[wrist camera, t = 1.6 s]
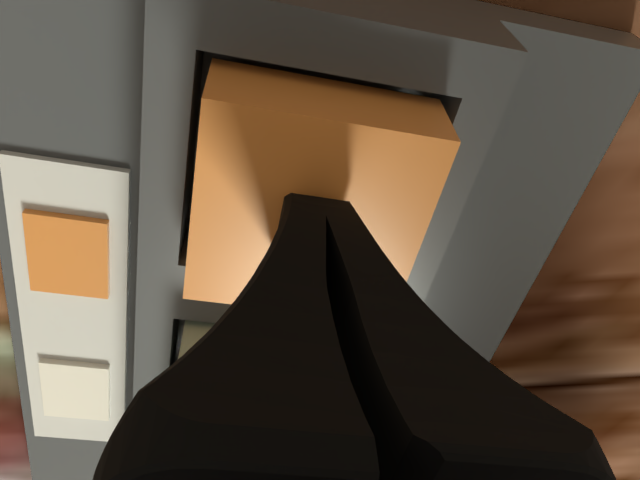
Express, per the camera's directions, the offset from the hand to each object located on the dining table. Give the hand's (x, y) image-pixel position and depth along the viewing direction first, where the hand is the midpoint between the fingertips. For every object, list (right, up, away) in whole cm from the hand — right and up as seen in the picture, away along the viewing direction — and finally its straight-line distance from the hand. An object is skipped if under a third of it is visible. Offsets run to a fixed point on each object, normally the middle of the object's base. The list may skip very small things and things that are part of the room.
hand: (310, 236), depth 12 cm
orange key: (0, +1, +2) cm, 2 cm away
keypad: (-2, -3, +9) cm, 9 cm away
